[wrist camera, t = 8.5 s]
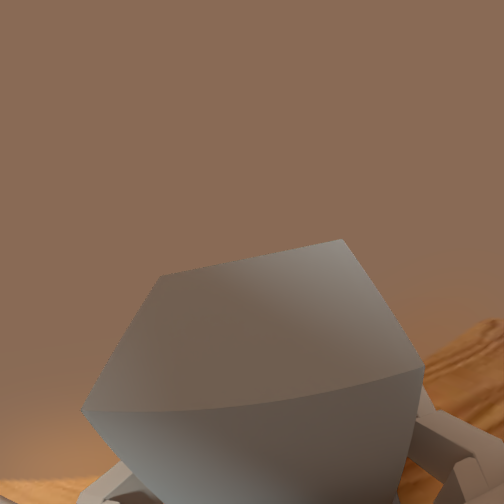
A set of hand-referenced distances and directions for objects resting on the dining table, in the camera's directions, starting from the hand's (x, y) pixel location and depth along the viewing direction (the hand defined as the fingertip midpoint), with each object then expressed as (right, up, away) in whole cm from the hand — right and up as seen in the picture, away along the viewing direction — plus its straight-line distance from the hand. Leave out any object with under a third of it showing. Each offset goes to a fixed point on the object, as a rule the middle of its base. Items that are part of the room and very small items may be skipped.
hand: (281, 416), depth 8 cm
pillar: (+1, -5, +1) cm, 6 cm away
